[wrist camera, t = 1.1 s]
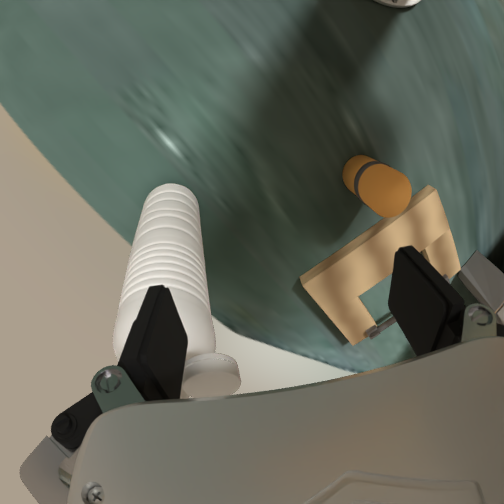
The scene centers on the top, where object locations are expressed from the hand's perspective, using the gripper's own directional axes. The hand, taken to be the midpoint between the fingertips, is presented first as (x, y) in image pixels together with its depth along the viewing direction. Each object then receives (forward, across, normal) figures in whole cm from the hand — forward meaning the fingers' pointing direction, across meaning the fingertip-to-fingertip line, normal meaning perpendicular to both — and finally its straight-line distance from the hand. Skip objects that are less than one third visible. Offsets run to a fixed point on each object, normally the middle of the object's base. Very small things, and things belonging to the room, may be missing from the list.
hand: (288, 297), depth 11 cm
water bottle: (+23, +9, +2) cm, 25 cm away
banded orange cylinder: (+23, -12, +2) cm, 26 cm away
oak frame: (+23, -17, +17) cm, 33 cm away
